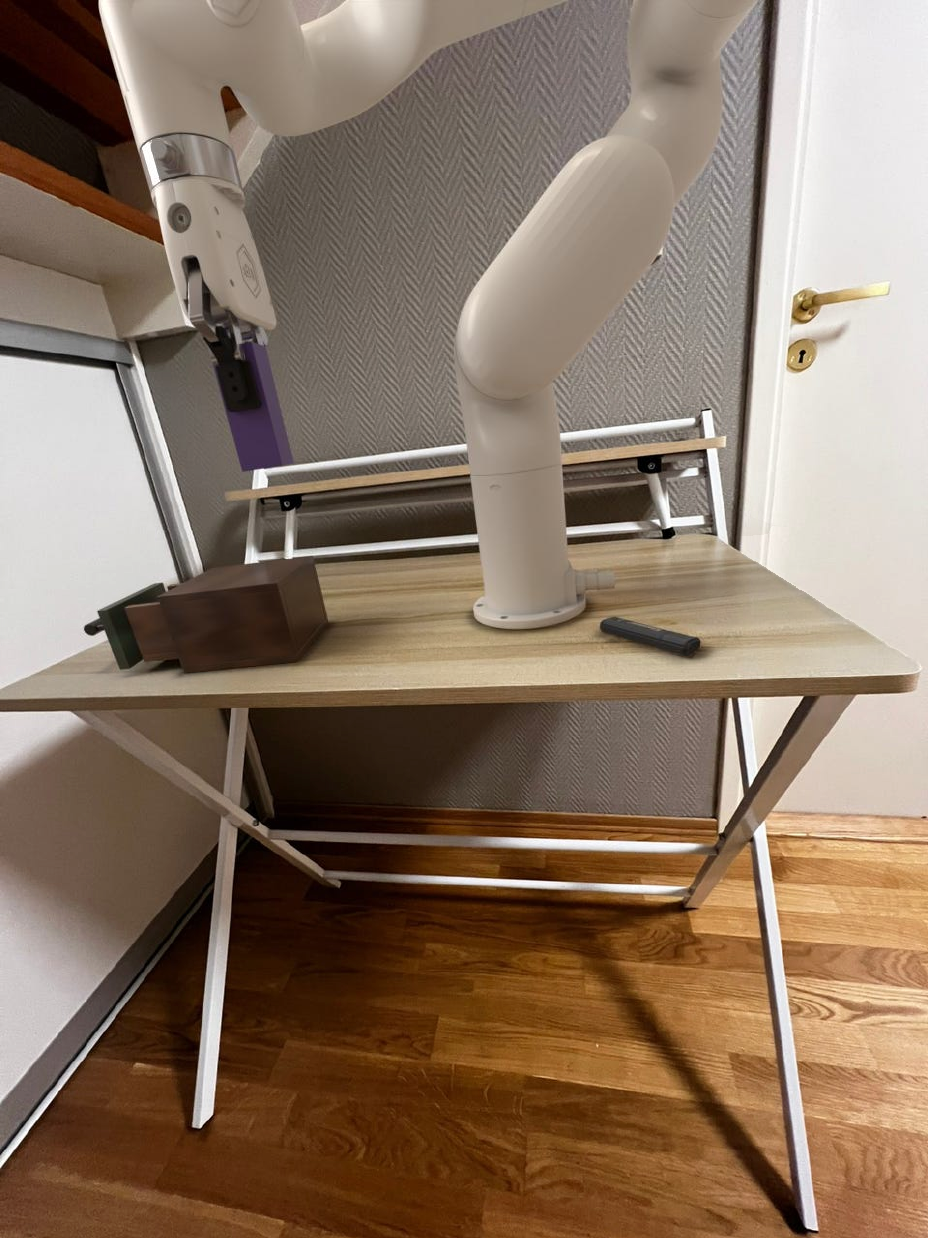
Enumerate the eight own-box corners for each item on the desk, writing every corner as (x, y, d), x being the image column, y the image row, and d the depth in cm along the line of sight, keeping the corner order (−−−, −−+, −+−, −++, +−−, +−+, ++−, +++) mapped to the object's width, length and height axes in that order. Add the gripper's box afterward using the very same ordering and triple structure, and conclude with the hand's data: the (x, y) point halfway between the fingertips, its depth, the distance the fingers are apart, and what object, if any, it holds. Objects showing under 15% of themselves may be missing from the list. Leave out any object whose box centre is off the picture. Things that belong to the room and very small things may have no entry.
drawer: (86, 673, 58) (62, 614, 56) (142, 638, 67) (123, 587, 65) (220, 659, 56) (201, 598, 54) (259, 625, 66) (244, 572, 63)
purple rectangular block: (294, 463, 55) (265, 345, 52) (282, 465, 52) (251, 341, 49) (255, 468, 56) (224, 353, 52) (242, 471, 53) (208, 349, 49)
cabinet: (183, 673, 57) (157, 596, 54) (232, 634, 67) (211, 567, 64) (297, 661, 55) (276, 582, 52) (329, 623, 66) (313, 555, 63)
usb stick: (704, 650, 45) (705, 634, 45) (686, 661, 44) (686, 644, 44) (615, 626, 53) (614, 612, 52) (597, 635, 52) (596, 620, 51)
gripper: (184, 125, 38) (255, 402, 44) (274, 210, 53) (317, 406, 60) (87, 147, 39) (170, 415, 45) (203, 224, 54) (253, 416, 60)
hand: (253, 408), depth 52 cm, fingers closed on purple rectangular block, 3 cm apart
